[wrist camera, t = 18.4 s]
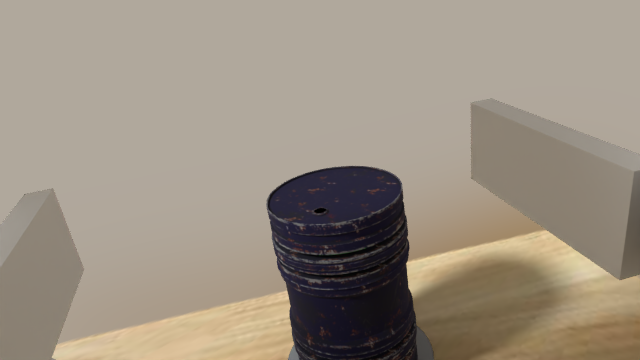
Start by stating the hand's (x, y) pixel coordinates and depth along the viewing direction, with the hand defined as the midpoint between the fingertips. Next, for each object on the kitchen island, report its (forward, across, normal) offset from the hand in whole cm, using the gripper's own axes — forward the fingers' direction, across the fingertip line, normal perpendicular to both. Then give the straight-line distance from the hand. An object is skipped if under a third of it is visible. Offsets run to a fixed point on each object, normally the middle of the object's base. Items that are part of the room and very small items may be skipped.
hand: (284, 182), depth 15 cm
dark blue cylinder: (+16, +5, -24) cm, 29 cm away
